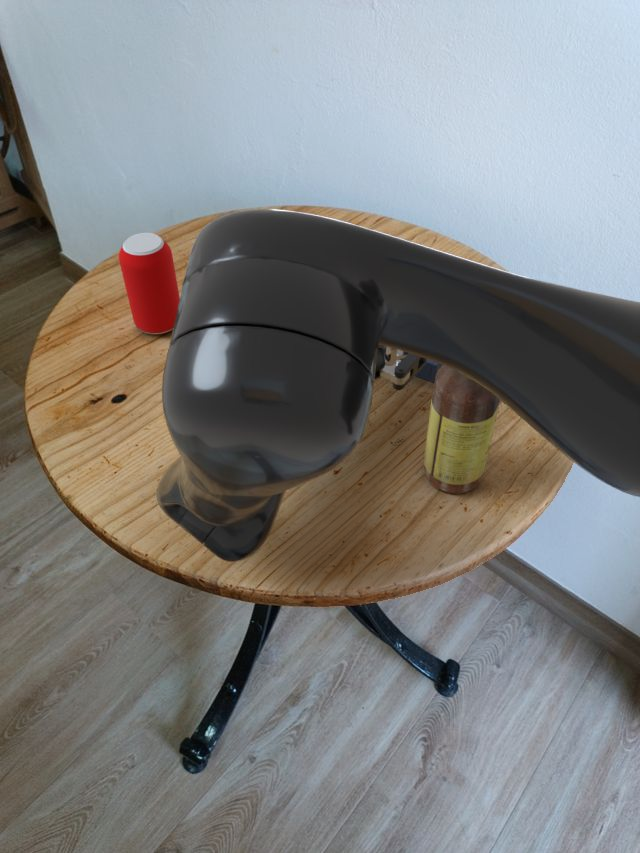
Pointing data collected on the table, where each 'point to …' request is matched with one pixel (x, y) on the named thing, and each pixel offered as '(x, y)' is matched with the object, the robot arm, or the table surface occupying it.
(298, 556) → the table surface
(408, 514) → the table surface
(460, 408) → the sauce bottle
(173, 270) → the beverage can
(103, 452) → the table surface
